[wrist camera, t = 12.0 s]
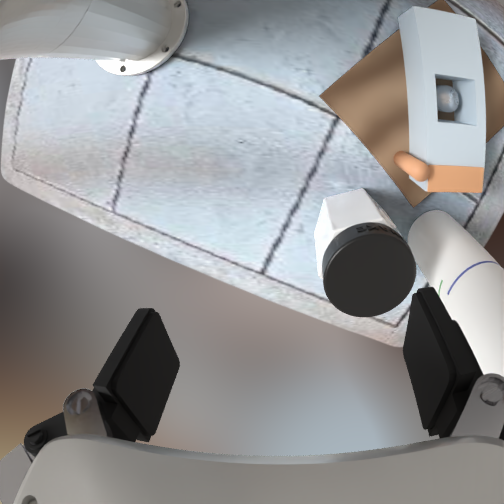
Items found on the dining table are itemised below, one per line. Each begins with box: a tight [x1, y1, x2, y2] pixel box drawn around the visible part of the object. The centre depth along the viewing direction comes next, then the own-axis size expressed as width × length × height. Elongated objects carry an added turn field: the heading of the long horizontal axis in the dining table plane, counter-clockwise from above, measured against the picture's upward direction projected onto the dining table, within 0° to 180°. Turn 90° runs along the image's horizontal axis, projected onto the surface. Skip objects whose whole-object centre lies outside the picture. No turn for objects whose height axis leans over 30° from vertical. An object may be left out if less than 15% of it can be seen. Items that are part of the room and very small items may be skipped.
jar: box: [314, 188, 416, 317], centre depth 30 cm, size 9×8×12 cm
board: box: [320, 0, 504, 208], centre depth 26 cm, size 16×20×1 cm
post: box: [436, 85, 459, 112], centre depth 24 cm, size 3×3×3 cm
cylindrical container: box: [408, 210, 504, 377], centre depth 23 cm, size 7×7×25 cm
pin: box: [394, 151, 430, 182], centre depth 27 cm, size 2×2×6 cm
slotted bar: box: [398, 6, 486, 193], centre depth 23 cm, size 18×7×5 cm, turn 7°
